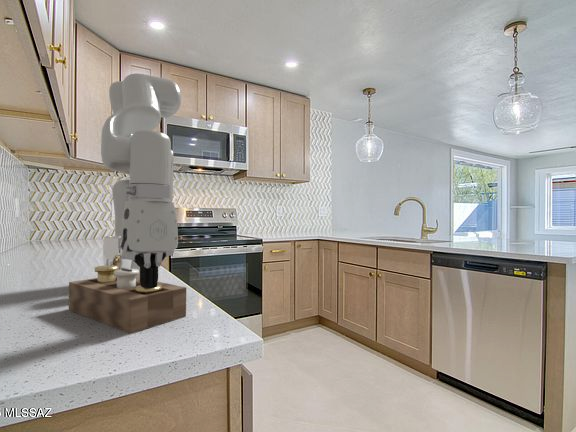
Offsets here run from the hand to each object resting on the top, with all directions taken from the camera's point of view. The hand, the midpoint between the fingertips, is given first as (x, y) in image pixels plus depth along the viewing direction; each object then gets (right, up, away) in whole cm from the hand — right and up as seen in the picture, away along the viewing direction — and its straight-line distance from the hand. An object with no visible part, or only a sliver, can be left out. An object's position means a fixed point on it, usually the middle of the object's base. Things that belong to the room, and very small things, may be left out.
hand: (148, 286), depth 64 cm
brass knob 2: (0, -6, 0) cm, 6 cm away
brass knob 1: (-14, -4, +9) cm, 17 cm away
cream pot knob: (-7, -4, +5) cm, 9 cm away
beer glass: (-18, -7, +21) cm, 28 cm away
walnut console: (-7, -7, +5) cm, 11 cm away
